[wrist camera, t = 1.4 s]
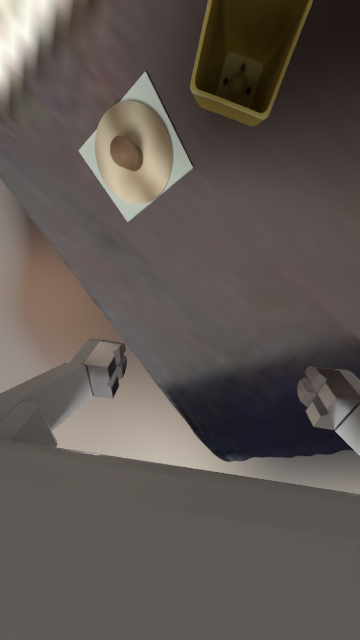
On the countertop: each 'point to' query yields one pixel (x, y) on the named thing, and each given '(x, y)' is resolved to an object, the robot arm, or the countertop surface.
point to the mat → (181, 163)
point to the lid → (133, 152)
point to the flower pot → (245, 55)
